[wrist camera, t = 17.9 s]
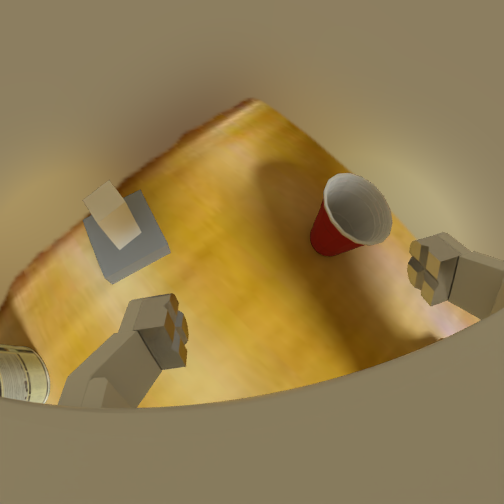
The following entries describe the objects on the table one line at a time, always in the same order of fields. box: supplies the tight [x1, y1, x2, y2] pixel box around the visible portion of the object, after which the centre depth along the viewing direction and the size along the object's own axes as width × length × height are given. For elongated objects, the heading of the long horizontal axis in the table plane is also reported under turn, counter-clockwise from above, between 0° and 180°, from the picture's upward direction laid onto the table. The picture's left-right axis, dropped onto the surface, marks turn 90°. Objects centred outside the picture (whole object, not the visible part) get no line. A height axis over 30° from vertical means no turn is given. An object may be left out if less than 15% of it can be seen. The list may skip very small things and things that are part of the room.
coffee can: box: [0, 344, 50, 404], centre depth 24 cm, size 10×10×14 cm
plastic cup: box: [310, 173, 392, 256], centre depth 40 cm, size 11×11×12 cm
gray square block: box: [83, 190, 171, 284], centre depth 39 cm, size 10×10×4 cm
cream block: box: [83, 180, 142, 250], centre depth 33 cm, size 4×4×9 cm
